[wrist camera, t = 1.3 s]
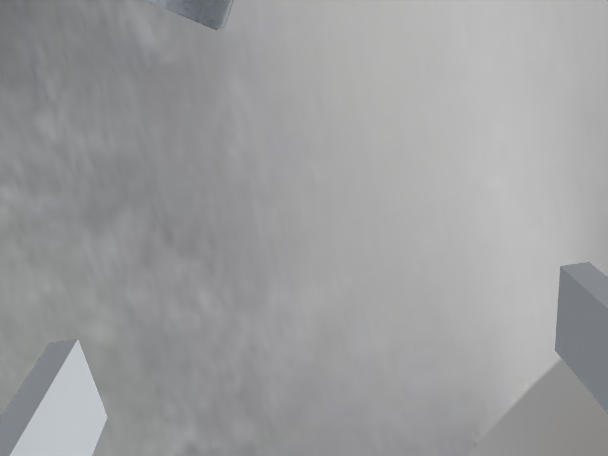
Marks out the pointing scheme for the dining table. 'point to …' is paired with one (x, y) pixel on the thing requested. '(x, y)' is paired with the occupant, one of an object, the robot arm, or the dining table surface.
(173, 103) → the dining table surface
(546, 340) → the dining table surface
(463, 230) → the dining table surface
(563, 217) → the dining table surface
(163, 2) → the bore housing
